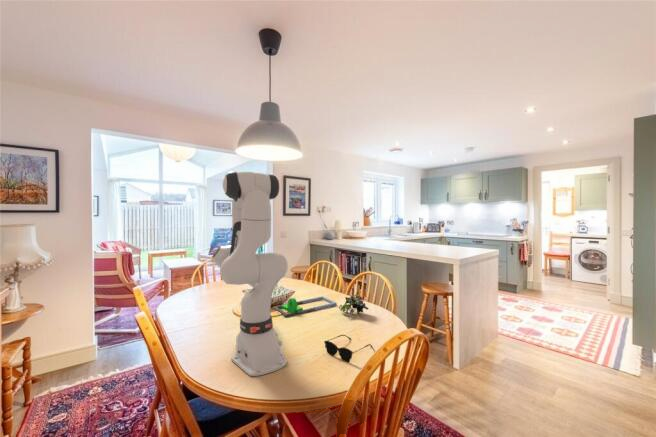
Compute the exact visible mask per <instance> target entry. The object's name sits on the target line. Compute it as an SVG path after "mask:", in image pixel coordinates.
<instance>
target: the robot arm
mask: <svg viewBox="0 0 656 437" xmlns="http://www.w3.org/2000/svg"><path fill="white" fill-rule="evenodd" d="M222 180H223V181H222V189H223V191H224V194H225V195H226V196H227V197H228V198H229V199H231V200H232V208H231V210H232V211H231V213H232V216H231V218H232V224H231V225H232V228H231V229H232V231H231V232H232V233H231V240H230V241H231V242H230V243H231V244H230V245H220V246H218V247H217V248H216V250H215V252H214V253H213V255H212V257H211V258H212V259H211V260H212V261H213V263H215V265H217V267H218V268H220V269H219V274H220V275H219V276H220V278H221V279H222V281H223V282H224V283H225V284H226V285H238V286H240V285H249V286H250V287H252V289H251V290H249V291H248V292H247V293H245V294H244V295H243V297H242V298H241V301H240V308H241V310H240V312H241V313H240V315H241V317H240V319H239V320H240V321H239V329H240V331H239V333H238V334H237V336H236V340H235V354H233V356H232V357H231V362H233V363H234V364H235V365H236V366H238V367H239V368H240V369H241V370H242V371H243V372H245V373H246V375H248V376H250V377H256V376H263V375H267V374H270V373H273V372H276V371H279V370H280V369H282V368H284V367H286V365H287V364H288V362H287V358H286V356H285V354H284V352H283V350H282V347H281V346H283V340H282V339H278V338H277V337H278V333H277V332H275V329H274V328H275V327H274V326H273V324H274V323H273V318H272V314H271V308H272V306H271V305H272V296H273V292H274V291H275V290H274V289H275V288H276V286H277V285H278V283H279V281H281V279H283V278H284V277H285V276H286V275H287V273H288V269H289V264H288V263H289V262H288V260H287V258H286V257H285V255H284V254H282V253H275V252H266V253H265V252H262V253H257V251H258V250H259V248H261V247H262V246H264V245H265V244H267V243H268V242H269V241H270V239H271V235H272V234H271V233H272V207H271V206H272V205H271V200H274V199H276V198H277V197H278V196H279V192H280V181H279V179H278V177H277V176H276V175H274V174H269V173H268V174H267V173H261V172H253V171H235V170H234V171H229V172H227V173H226V174H225V175H224V178H223V179H222Z"/></svg>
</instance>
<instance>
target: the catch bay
mask: <svg viewBox="0 0 656 437" xmlns="http://www.w3.org/2000/svg"><path fill="white" fill-rule="evenodd" d="M322 300H323V301H324V302H327V304H323V305H317V306H314V307H312V308H315V311H317V310H322V309H326V308H331V307H336V306H337V302H336V301H333V300H331V299H329V298H327V297H326V296H324V295H322V296H319V297H313V298H309V299H302V300H301V301H302V302H303V304H307V303H312V302H316V301H322Z"/></svg>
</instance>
